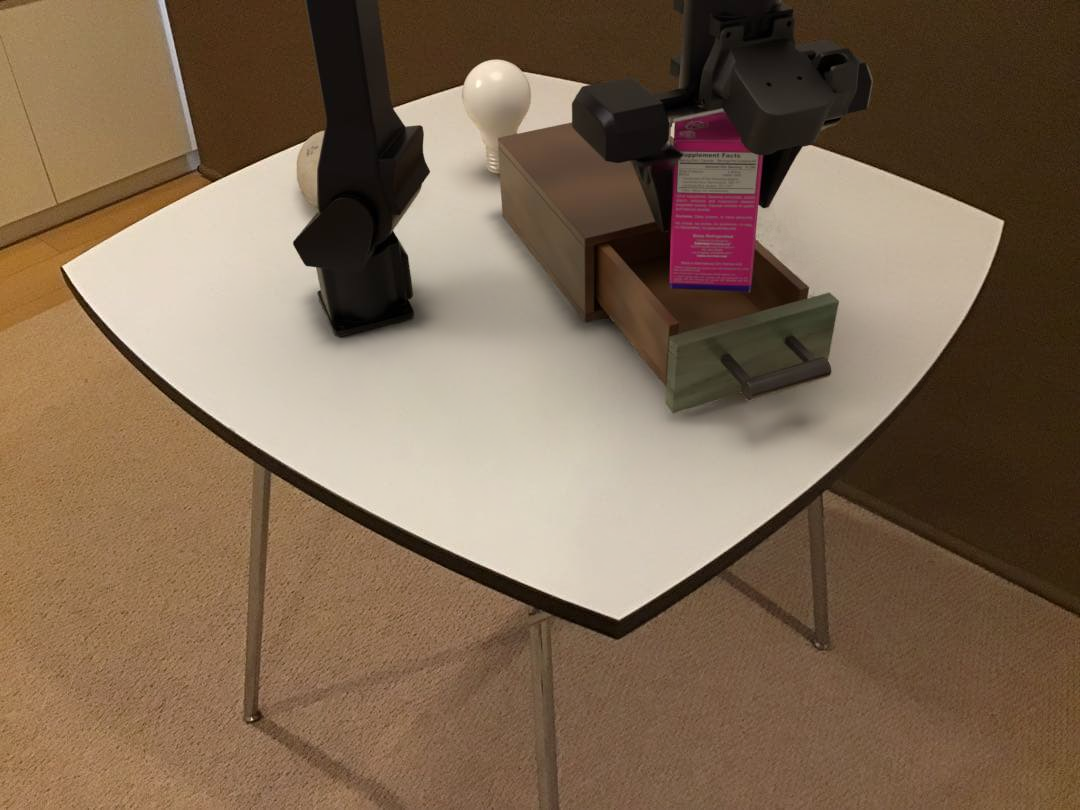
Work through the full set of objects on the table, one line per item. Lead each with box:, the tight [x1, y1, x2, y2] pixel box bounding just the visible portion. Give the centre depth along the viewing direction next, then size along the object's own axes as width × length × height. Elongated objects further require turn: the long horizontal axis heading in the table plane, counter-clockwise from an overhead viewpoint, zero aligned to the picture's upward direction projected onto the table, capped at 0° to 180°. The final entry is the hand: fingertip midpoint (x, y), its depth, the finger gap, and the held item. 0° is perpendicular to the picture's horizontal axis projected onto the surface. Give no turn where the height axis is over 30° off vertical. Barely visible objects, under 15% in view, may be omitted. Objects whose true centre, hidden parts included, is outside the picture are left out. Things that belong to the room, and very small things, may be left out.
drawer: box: [594, 226, 840, 414], centre depth 76 cm, size 22×12×6 cm, turn 22°
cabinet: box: [498, 121, 674, 323], centre depth 87 cm, size 19×14×8 cm
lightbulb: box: [461, 59, 532, 176], centre depth 97 cm, size 6×6×11 cm
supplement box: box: [670, 112, 763, 292], centre depth 70 cm, size 6×6×12 cm
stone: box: [296, 130, 325, 208], centre depth 97 cm, size 6×6×12 cm
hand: (712, 217), depth 71 cm, fingers closed on supplement box, 7 cm apart
